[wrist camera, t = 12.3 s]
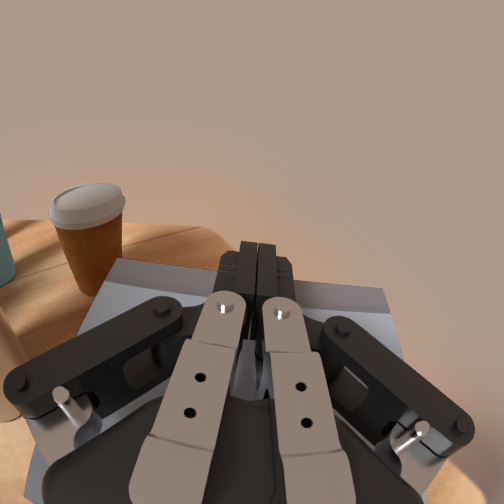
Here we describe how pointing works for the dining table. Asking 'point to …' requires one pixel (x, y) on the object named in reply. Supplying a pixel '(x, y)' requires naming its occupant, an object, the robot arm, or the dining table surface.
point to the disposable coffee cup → (89, 230)
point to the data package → (5, 258)
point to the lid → (196, 292)
